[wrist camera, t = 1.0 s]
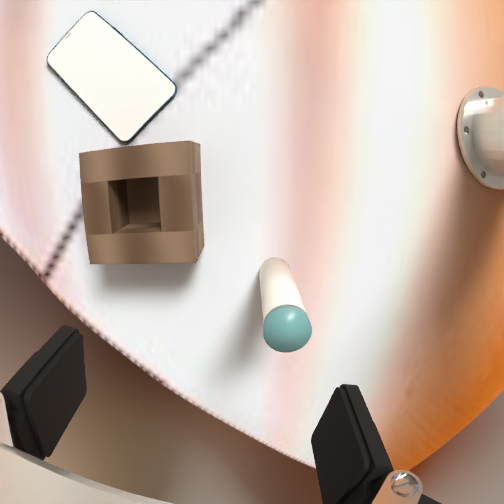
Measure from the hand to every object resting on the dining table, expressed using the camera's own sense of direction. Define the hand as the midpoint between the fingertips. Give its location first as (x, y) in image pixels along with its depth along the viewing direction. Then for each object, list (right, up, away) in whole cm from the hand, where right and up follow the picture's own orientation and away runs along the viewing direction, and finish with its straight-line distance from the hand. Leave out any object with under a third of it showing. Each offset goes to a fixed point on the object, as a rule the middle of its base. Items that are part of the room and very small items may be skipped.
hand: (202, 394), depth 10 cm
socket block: (-8, +10, +20) cm, 24 cm away
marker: (+4, +3, +23) cm, 23 cm away
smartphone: (-13, +24, +17) cm, 32 cm away
